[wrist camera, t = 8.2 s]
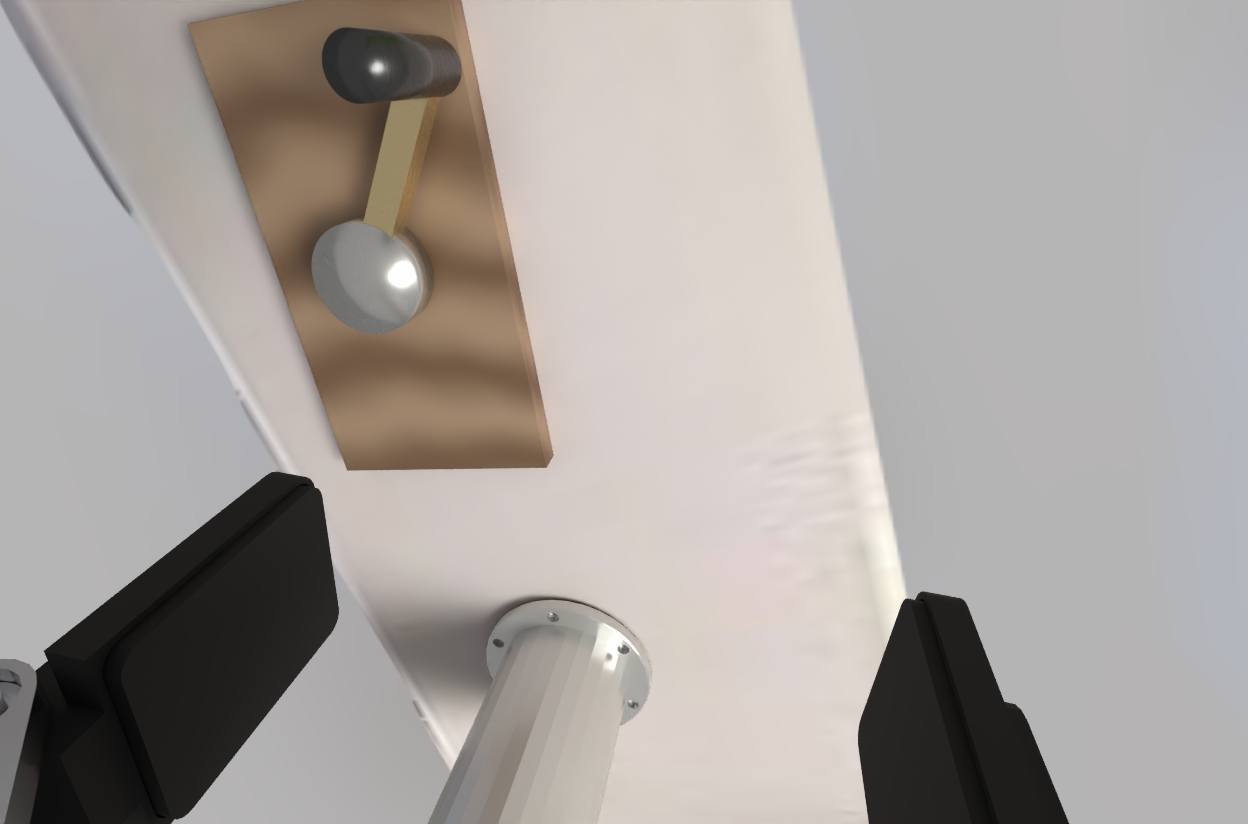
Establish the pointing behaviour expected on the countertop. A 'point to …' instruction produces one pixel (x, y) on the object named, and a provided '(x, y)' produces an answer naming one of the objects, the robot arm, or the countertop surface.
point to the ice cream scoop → (384, 177)
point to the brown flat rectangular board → (439, 217)
